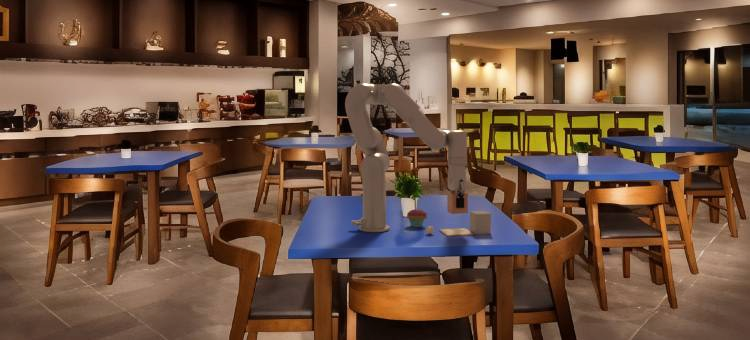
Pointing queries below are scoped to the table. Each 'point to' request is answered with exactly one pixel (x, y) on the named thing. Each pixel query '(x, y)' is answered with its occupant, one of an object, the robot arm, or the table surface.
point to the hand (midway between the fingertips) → (457, 206)
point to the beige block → (480, 222)
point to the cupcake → (416, 217)
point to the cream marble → (429, 230)
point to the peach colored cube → (452, 203)
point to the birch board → (456, 232)
